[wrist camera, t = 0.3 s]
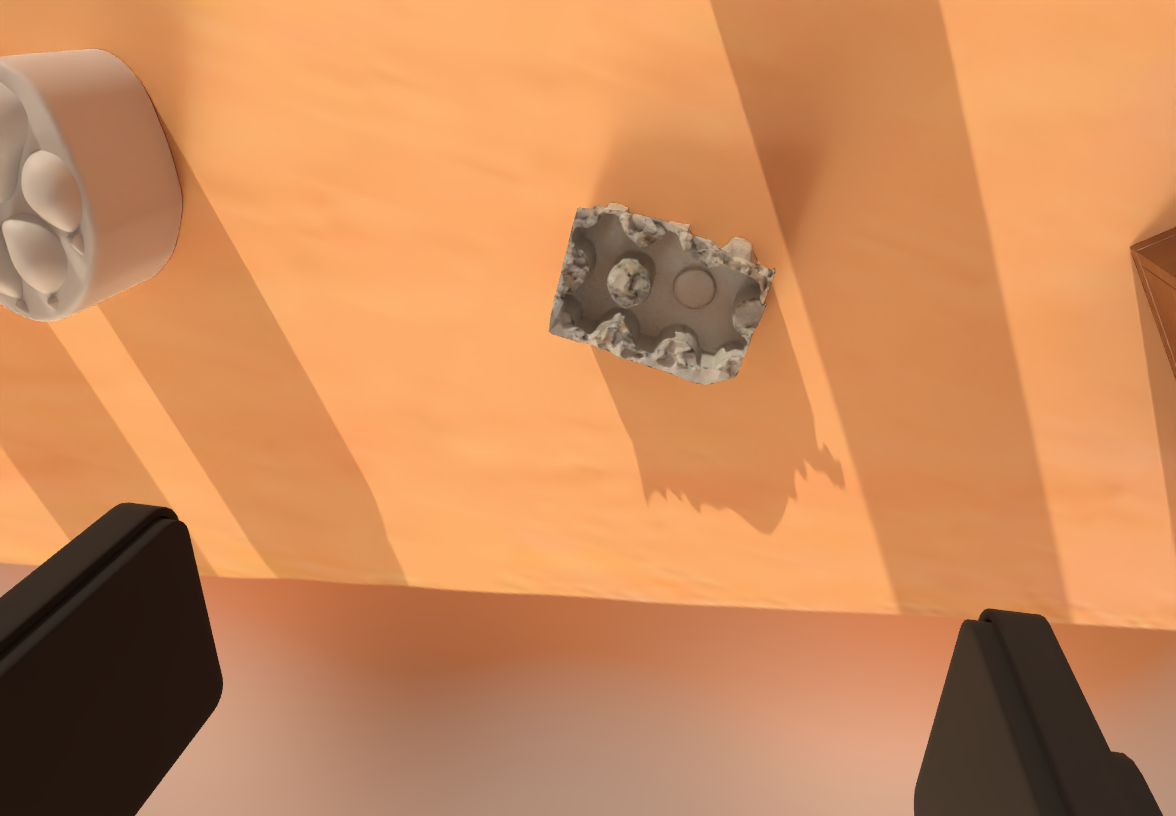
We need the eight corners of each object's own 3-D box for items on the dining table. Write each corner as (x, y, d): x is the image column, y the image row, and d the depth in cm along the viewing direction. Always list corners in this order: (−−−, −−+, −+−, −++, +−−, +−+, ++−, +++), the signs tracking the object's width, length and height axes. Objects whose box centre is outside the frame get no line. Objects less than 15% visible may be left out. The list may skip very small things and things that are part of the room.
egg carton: (783, 247, 43) (787, 270, 40) (731, 371, 47) (731, 403, 43) (589, 182, 43) (576, 199, 40) (552, 310, 47) (537, 337, 43)
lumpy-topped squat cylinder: (135, 42, 44) (7, 52, 37) (210, 277, 50) (113, 328, 42) (-26, 64, 46) (-179, 78, 39) (63, 287, 52) (-55, 338, 44)
